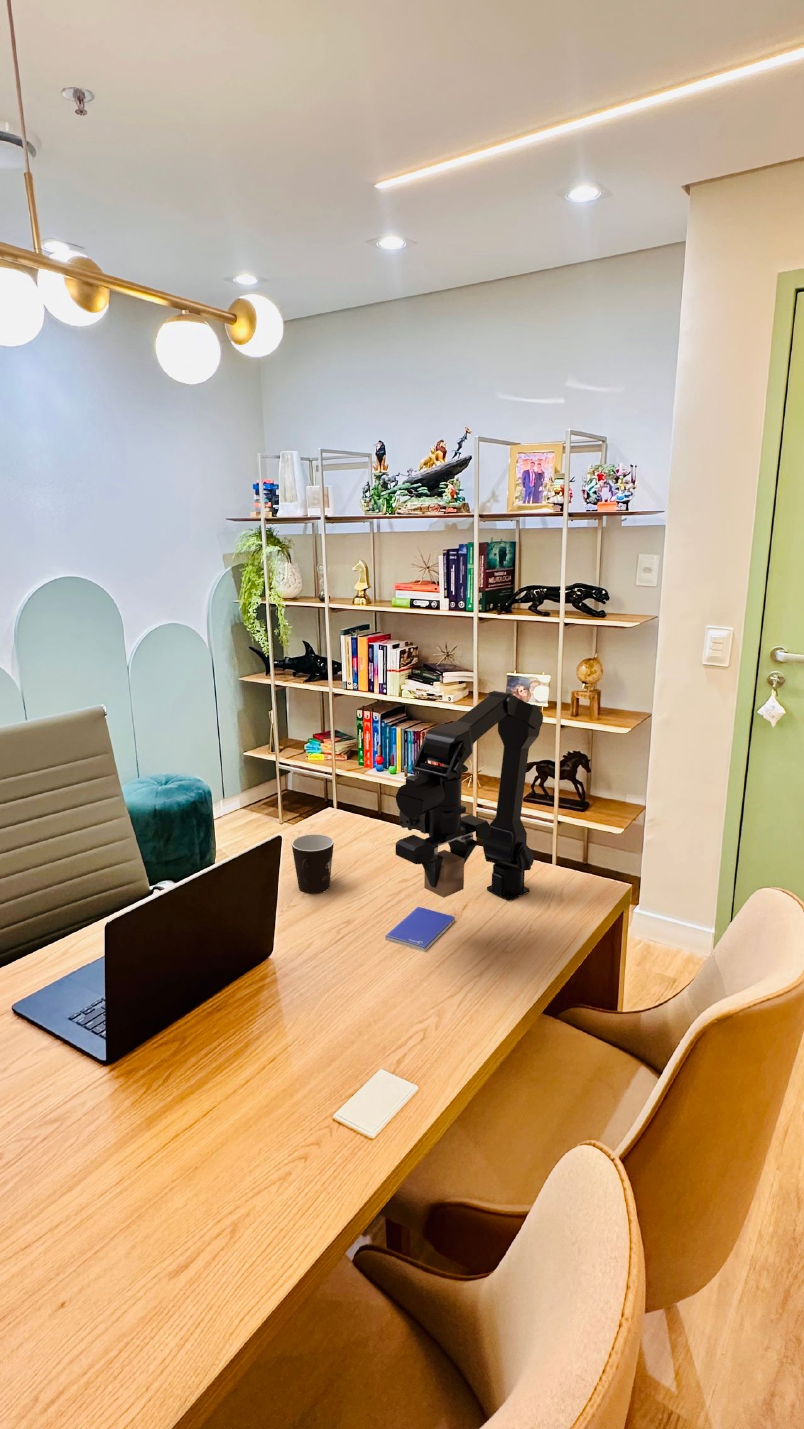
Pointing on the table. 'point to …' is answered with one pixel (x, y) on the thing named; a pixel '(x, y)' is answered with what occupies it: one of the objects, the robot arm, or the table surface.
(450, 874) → the walnut block
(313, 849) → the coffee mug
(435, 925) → the hard drive
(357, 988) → the table surface
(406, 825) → the robot arm
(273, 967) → the table surface
